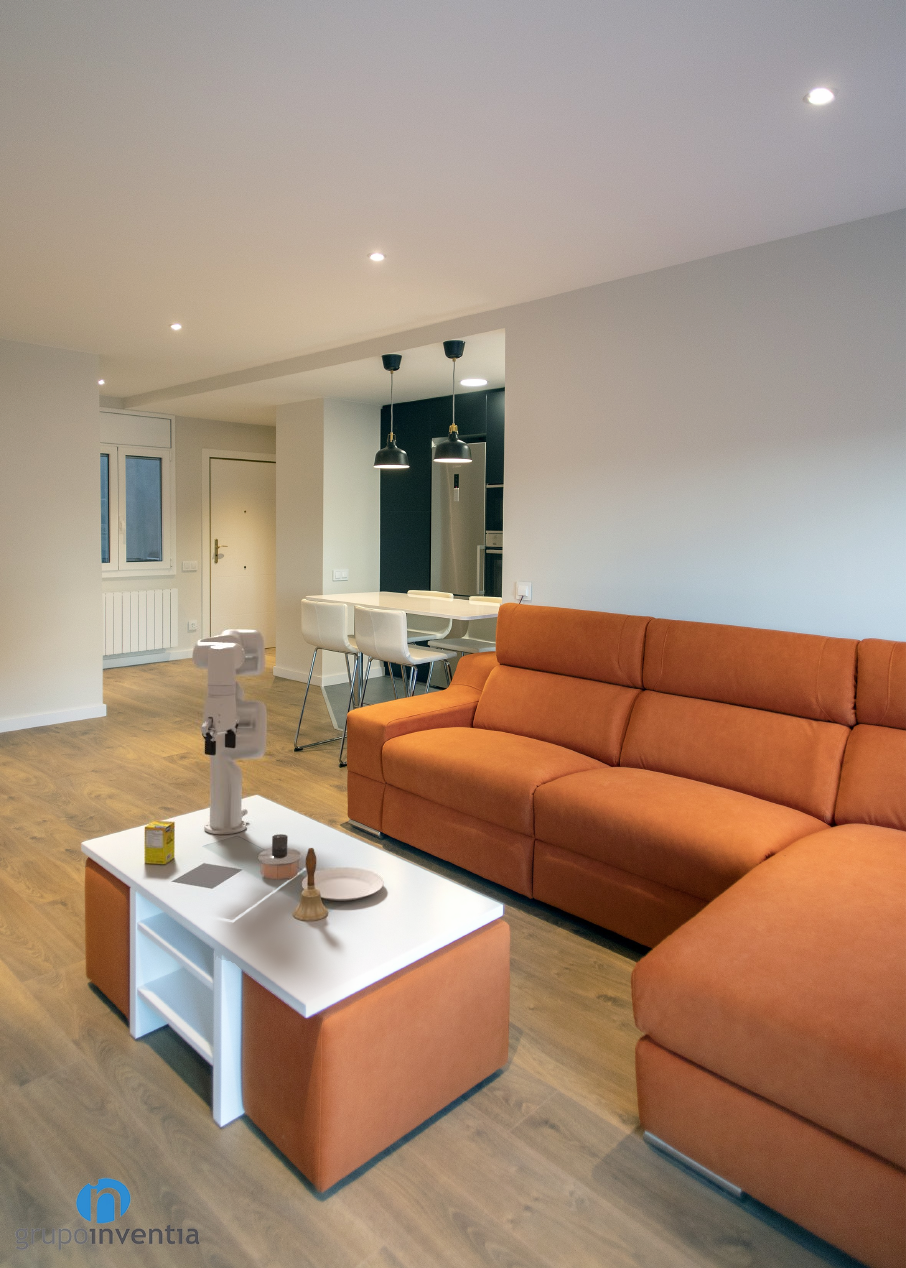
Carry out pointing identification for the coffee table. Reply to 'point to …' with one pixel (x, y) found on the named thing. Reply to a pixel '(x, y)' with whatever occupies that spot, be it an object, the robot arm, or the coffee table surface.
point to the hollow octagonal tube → (279, 871)
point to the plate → (345, 883)
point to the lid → (279, 852)
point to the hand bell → (310, 895)
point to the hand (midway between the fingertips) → (220, 751)
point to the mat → (207, 875)
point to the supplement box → (159, 842)
